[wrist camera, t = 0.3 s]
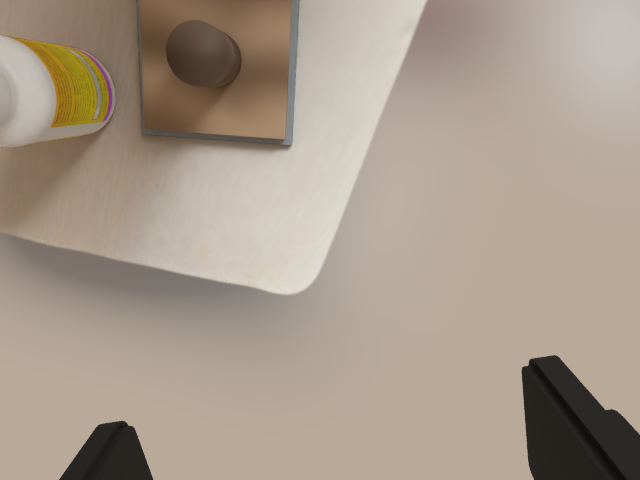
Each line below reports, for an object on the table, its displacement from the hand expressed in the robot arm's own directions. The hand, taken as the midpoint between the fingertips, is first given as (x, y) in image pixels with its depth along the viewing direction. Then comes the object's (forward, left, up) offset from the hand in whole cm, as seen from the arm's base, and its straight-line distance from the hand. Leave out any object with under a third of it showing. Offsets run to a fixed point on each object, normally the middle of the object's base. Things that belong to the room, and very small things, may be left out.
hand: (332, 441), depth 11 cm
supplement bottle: (-7, -21, -30) cm, 37 cm away
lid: (-10, -9, -29) cm, 32 cm away
